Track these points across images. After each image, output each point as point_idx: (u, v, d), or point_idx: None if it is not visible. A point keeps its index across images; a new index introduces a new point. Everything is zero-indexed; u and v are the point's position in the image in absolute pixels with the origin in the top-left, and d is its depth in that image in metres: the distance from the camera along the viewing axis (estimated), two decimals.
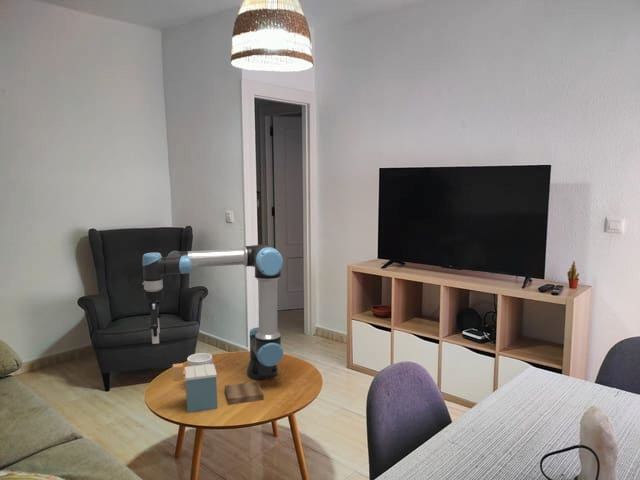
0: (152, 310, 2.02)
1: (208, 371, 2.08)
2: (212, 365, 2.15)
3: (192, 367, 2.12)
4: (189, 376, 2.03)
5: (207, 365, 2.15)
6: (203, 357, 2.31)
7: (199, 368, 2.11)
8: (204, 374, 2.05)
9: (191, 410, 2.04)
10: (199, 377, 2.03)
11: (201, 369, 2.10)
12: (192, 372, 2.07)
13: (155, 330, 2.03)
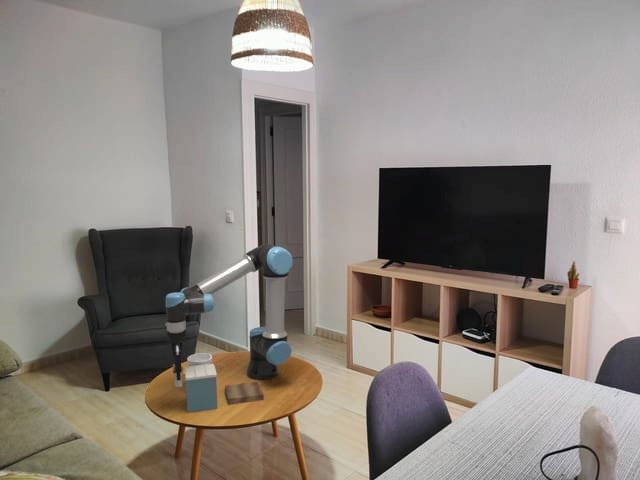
0: (176, 356, 1.99)
1: (208, 371, 2.08)
2: (212, 365, 2.15)
3: (192, 367, 2.12)
4: (189, 376, 2.03)
5: (207, 365, 2.15)
6: (203, 357, 2.31)
7: (199, 368, 2.11)
8: (204, 374, 2.05)
9: (191, 410, 2.04)
10: (199, 377, 2.03)
11: (201, 369, 2.10)
12: (192, 372, 2.07)
13: (179, 374, 2.03)
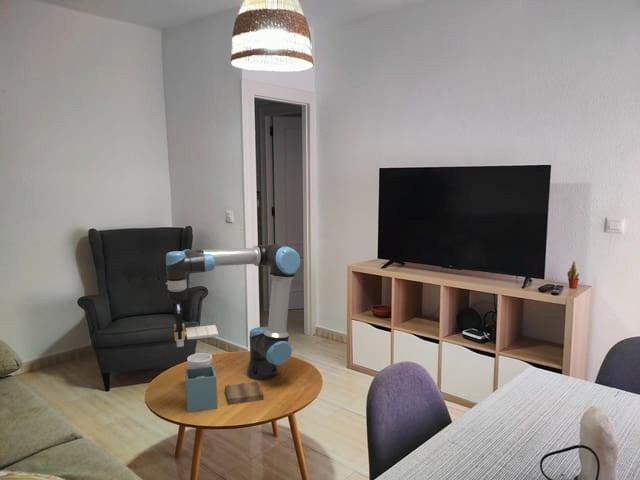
0: (177, 314, 1.97)
1: (210, 331, 2.06)
2: (214, 326, 2.13)
3: (193, 328, 2.10)
4: (190, 335, 2.01)
5: (208, 326, 2.13)
6: (203, 357, 2.31)
7: (200, 329, 2.09)
8: (206, 333, 2.03)
9: (191, 410, 2.04)
10: (200, 336, 2.01)
11: (202, 329, 2.08)
12: (194, 332, 2.05)
13: (180, 333, 2.01)
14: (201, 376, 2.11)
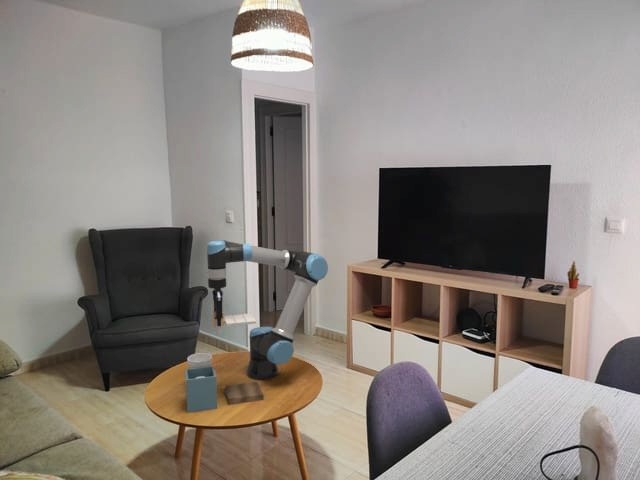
0: (217, 302, 2.05)
1: (247, 319, 2.13)
2: (250, 314, 2.20)
3: (231, 316, 2.18)
4: (229, 322, 2.08)
5: (245, 314, 2.20)
6: (203, 357, 2.31)
7: (238, 316, 2.17)
8: (244, 321, 2.10)
9: (191, 410, 2.04)
10: (239, 323, 2.08)
11: (240, 317, 2.15)
12: (232, 319, 2.12)
13: (219, 320, 2.08)
14: (201, 376, 2.11)
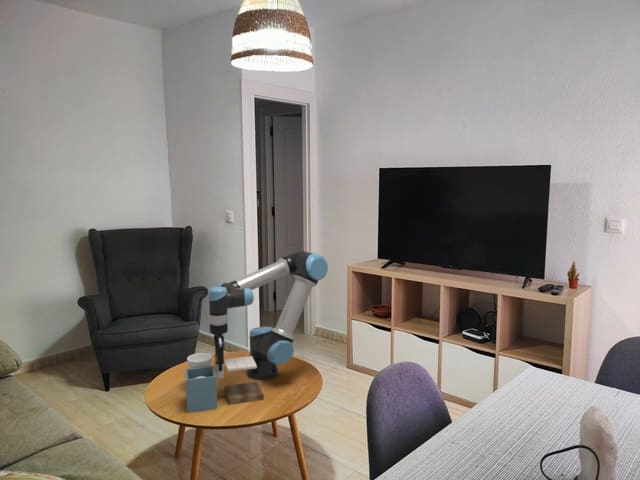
0: (219, 348, 2.07)
1: (248, 363, 2.16)
2: (250, 357, 2.22)
3: (232, 359, 2.20)
4: (230, 367, 2.11)
5: (246, 357, 2.22)
6: (203, 357, 2.31)
7: (239, 360, 2.19)
8: (245, 365, 2.13)
9: (191, 410, 2.04)
10: (240, 368, 2.11)
11: (241, 361, 2.18)
12: (233, 364, 2.15)
13: (221, 365, 2.11)
14: (201, 376, 2.11)
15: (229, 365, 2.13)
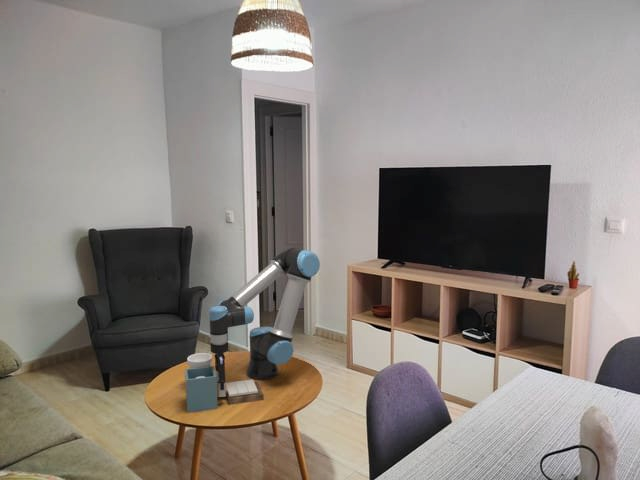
0: (220, 365, 2.07)
1: (249, 387, 2.18)
2: (252, 381, 2.24)
3: (233, 383, 2.22)
4: (232, 392, 2.13)
5: (247, 381, 2.24)
6: (203, 357, 2.31)
7: (240, 384, 2.21)
8: (246, 390, 2.15)
9: (191, 410, 2.04)
10: (241, 393, 2.12)
11: (242, 385, 2.20)
12: (234, 388, 2.16)
13: (222, 384, 2.08)
14: (201, 376, 2.11)
15: (230, 390, 2.15)
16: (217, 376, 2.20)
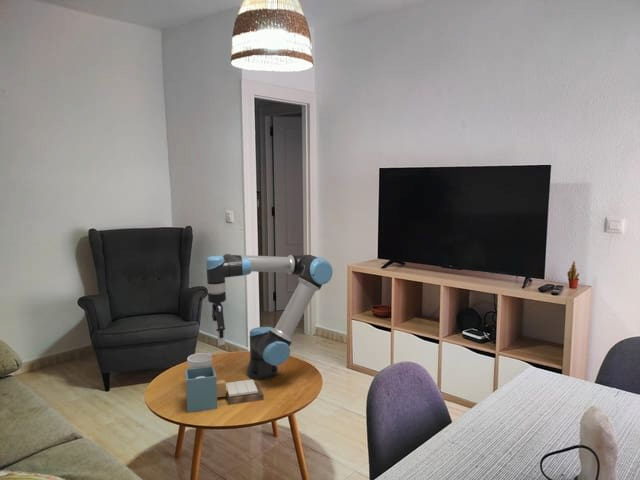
0: (218, 312, 2.07)
1: (249, 387, 2.18)
2: (252, 381, 2.24)
3: (233, 383, 2.22)
4: (232, 392, 2.13)
5: (247, 381, 2.24)
6: (203, 357, 2.31)
7: (240, 384, 2.21)
8: (246, 390, 2.15)
9: (191, 410, 2.04)
10: (241, 393, 2.12)
11: (242, 385, 2.20)
12: (234, 388, 2.16)
13: (222, 332, 2.07)
14: (201, 376, 2.11)
15: (230, 390, 2.15)
16: (215, 325, 2.21)
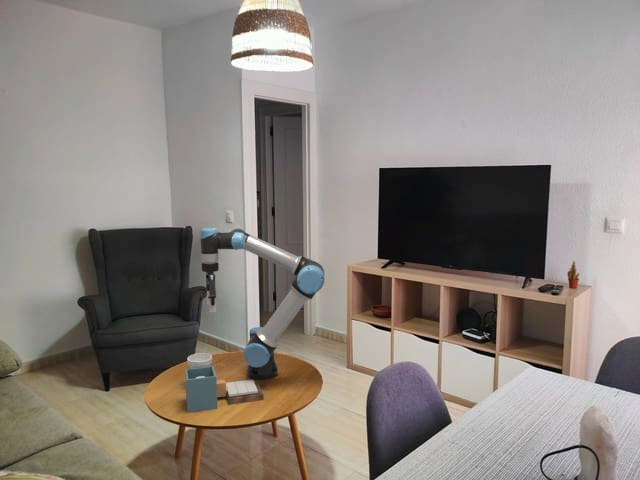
0: (210, 281, 2.16)
1: (249, 387, 2.18)
2: (252, 381, 2.24)
3: (233, 383, 2.22)
4: (232, 392, 2.13)
5: (247, 381, 2.24)
6: (203, 357, 2.31)
7: (240, 384, 2.21)
8: (246, 390, 2.15)
9: (191, 410, 2.04)
10: (241, 393, 2.12)
11: (242, 385, 2.20)
12: (234, 388, 2.16)
13: (213, 299, 2.17)
14: (201, 376, 2.11)
15: (230, 390, 2.15)
16: (208, 295, 2.30)
